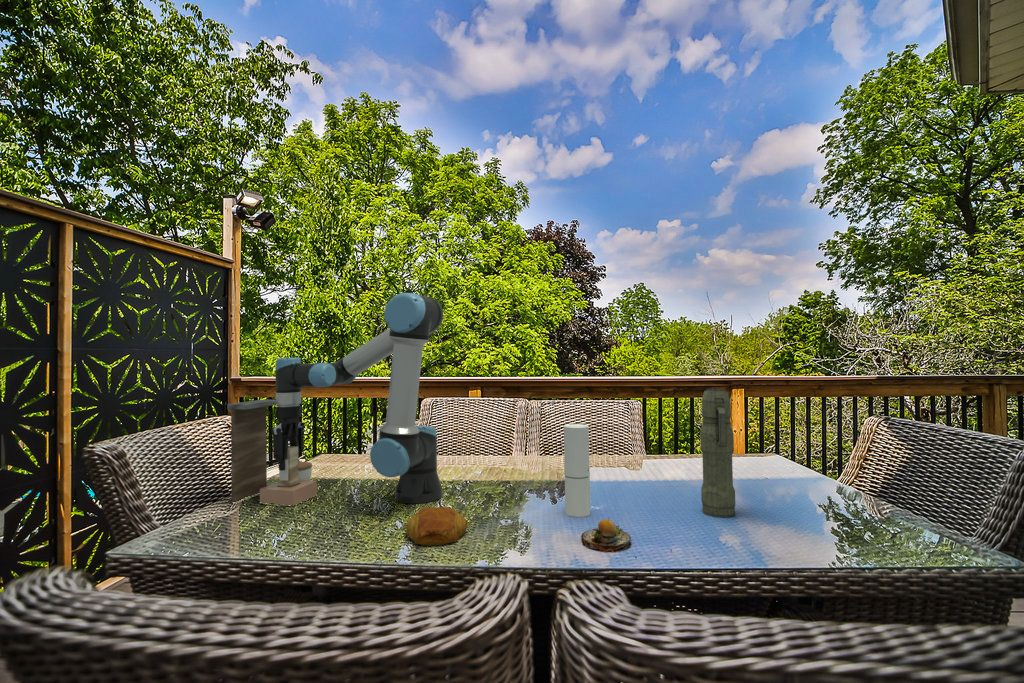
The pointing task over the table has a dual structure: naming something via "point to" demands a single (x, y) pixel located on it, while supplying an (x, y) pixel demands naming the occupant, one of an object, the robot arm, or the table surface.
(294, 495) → the socket block
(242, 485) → the capped wooden panel
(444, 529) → the croissant
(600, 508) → the table surface
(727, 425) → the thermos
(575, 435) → the cylindrical container
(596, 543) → the wood slice egg decoration
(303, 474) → the lidded jar
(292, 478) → the peg
